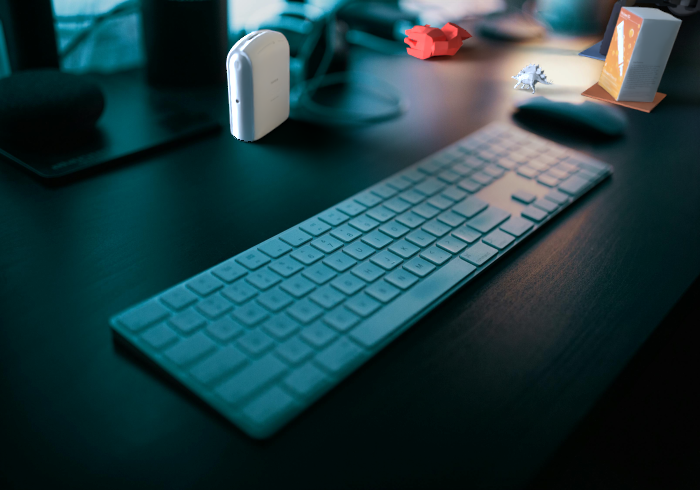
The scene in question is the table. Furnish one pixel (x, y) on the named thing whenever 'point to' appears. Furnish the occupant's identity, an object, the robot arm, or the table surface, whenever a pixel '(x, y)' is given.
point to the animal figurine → (435, 40)
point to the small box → (638, 53)
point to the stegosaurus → (531, 77)
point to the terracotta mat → (602, 94)
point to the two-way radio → (610, 29)
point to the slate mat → (594, 52)
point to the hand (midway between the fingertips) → (665, 7)
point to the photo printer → (258, 84)
